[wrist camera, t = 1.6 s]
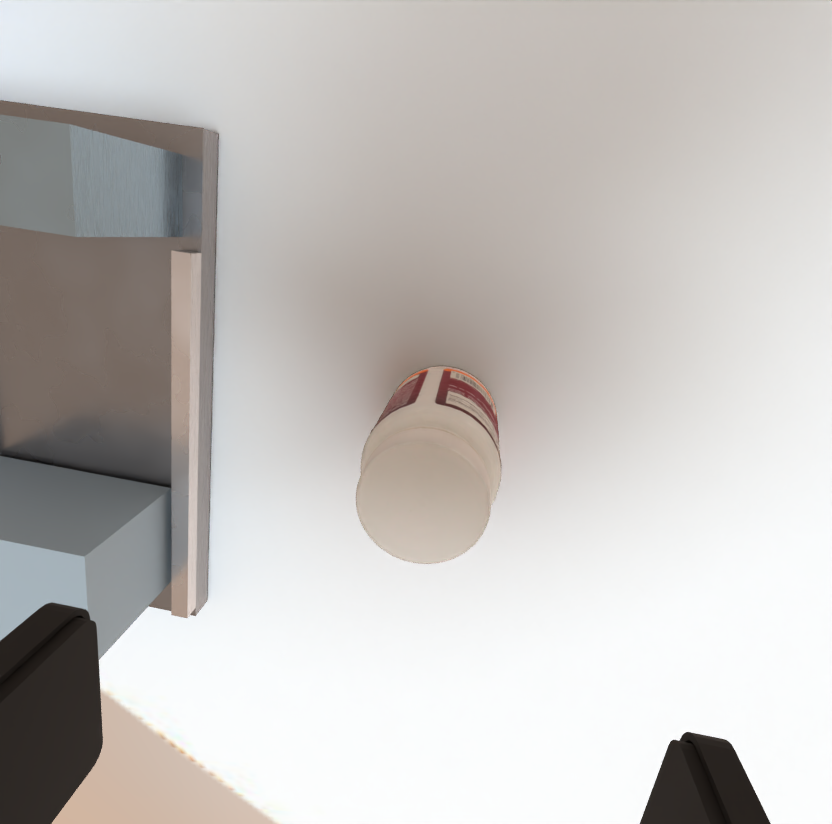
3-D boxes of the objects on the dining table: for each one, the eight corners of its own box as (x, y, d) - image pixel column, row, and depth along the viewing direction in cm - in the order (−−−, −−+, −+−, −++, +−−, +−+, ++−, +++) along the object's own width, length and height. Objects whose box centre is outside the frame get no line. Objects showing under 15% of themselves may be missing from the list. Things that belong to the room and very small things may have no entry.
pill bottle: (397, 472, 25) (356, 580, 17) (381, 370, 24) (328, 437, 16) (503, 463, 24) (510, 573, 17) (492, 358, 23) (494, 421, 15)
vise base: (-41, 98, 23) (-269, 38, 16) (218, 134, 22) (95, 87, 15) (9, 560, 30) (-135, 657, 23) (207, 600, 29) (119, 714, 22)
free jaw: (-9, 454, 26) (-141, 511, 20) (171, 488, 25) (84, 556, 20) (1, 547, 27) (-118, 623, 22) (171, 581, 27) (90, 668, 21)
